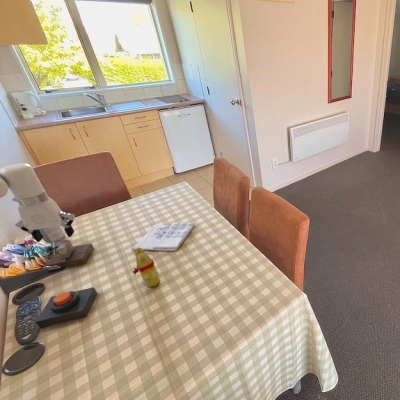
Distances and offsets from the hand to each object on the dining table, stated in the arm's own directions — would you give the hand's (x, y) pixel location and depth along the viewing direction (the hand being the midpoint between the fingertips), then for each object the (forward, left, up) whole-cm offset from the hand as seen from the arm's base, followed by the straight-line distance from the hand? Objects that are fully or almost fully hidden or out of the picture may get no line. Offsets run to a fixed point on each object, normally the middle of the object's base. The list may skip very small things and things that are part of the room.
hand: (56, 237), depth 102 cm
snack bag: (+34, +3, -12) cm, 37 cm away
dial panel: (0, 0, -12) cm, 12 cm away
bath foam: (-10, +14, -12) cm, 21 cm away
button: (+10, -29, -7) cm, 31 cm away
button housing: (+10, -29, -12) cm, 33 cm away
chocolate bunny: (+32, -23, -12) cm, 41 cm away
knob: (0, 0, -9) cm, 9 cm away
